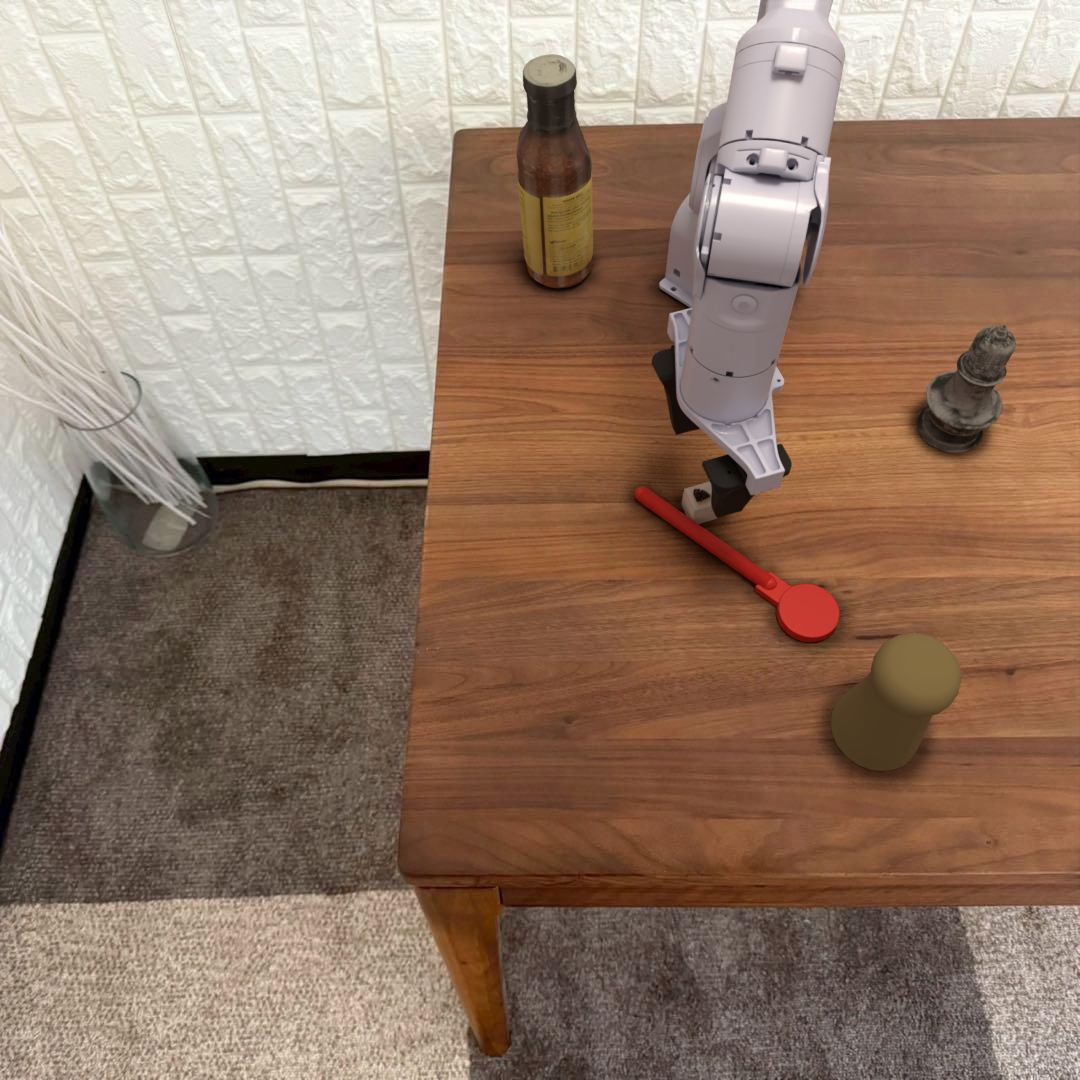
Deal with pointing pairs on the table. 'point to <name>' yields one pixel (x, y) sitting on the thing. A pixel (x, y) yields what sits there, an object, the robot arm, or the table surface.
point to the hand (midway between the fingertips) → (706, 468)
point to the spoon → (760, 578)
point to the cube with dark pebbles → (698, 503)
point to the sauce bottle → (554, 177)
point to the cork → (896, 701)
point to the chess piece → (967, 394)
